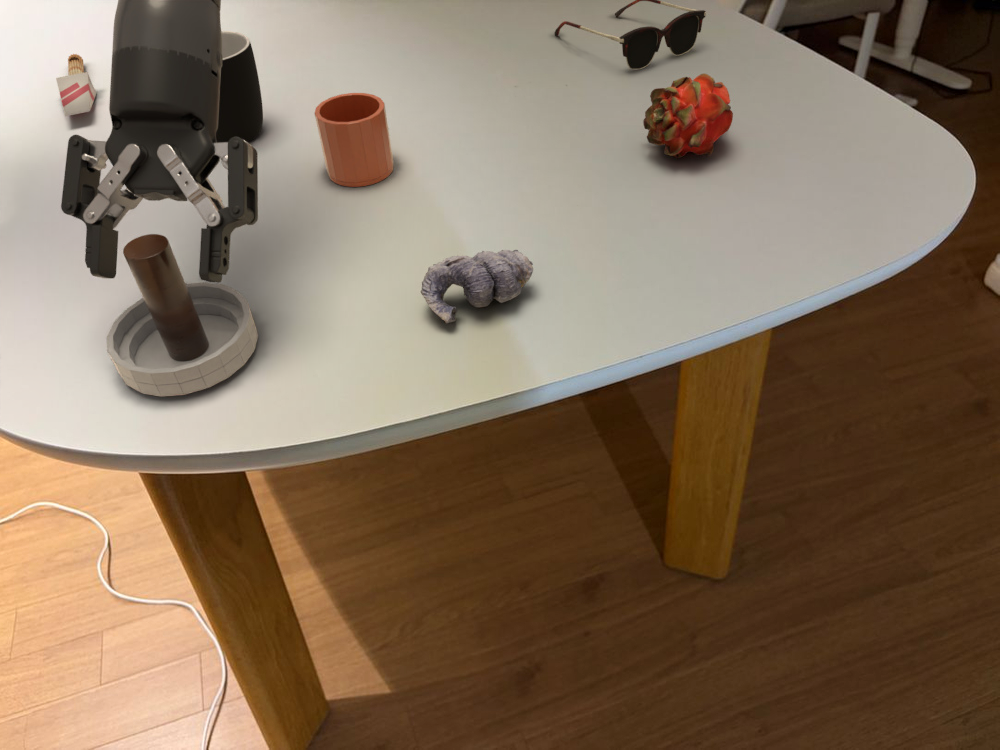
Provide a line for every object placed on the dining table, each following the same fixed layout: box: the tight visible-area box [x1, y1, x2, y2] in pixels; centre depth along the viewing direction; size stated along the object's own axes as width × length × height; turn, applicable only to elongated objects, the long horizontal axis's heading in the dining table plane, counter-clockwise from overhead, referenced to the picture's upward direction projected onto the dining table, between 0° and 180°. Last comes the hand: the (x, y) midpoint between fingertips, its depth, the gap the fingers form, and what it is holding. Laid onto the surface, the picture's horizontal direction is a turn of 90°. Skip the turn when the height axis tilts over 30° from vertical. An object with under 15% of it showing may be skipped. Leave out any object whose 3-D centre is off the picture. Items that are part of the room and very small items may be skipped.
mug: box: [216, 30, 264, 143], centre depth 89 cm, size 12×9×10 cm
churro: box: [55, 53, 98, 117], centre depth 102 cm, size 4×3×20 cm
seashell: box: [420, 249, 534, 324], centre depth 67 cm, size 5×5×10 cm
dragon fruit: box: [642, 73, 734, 159], centre depth 84 cm, size 8×8×12 cm
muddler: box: [122, 233, 209, 361], centre depth 62 cm, size 3×3×10 cm
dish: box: [106, 281, 259, 397], centre depth 64 cm, size 11×11×3 cm
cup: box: [314, 92, 394, 188], centre depth 83 cm, size 7×7×7 cm
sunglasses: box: [554, 0, 707, 70], centre depth 106 cm, size 14×16×5 cm
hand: (156, 279), depth 60 cm, fingers open, 8 cm apart
